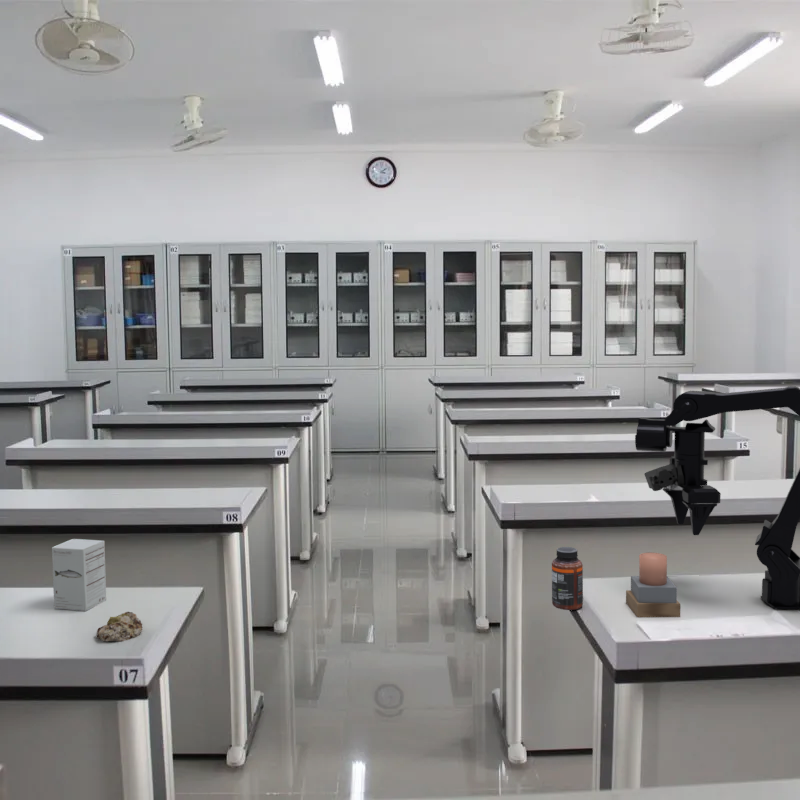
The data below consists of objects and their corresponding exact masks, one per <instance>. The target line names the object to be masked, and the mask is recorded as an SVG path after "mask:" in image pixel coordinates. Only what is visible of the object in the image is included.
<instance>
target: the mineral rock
mask: <svg viewBox="0 0 800 800" xmlns="http://www.w3.org/2000/svg"><path fill="white" fill-rule="evenodd" d="M142 630H143V623H142V621H141V619H139V618H138V617H137V614H136V613H134V612H132V611H125V612H124V613H121V614H118V615H116V616H109V619H108V621H107V623H106V624H105V625H102V626H100V627H98V629H97V630H96V638H97V639H98V640H99V639H100V640H101V641H102V642H118V643H120V642H121V643H122V642H125V641H128V640H130V639H134V638H137V637H140V634H142Z"/></svg>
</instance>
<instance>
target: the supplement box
mask: <svg viewBox="0 0 800 800" xmlns="http://www.w3.org/2000/svg"><path fill="white" fill-rule="evenodd" d="M105 542H106V541H105V540H100V539H99V540H98V539H84V538H83V539H82V538H72V539H68V540H67V541H64V542H61V543H59V544H57V545H55V546H52V547H51V558H52V583H53V585H52V586H53V608H54V610H57V609H60V610H73V611H80V612H81V611H82V612H87V611H88V610H91V609H92V608H94V607H97V606H98V605H100V604H102V603H103V602H105V601H107V581H106V580H107V578H106V576H107V575H106V552H105V550H106V549H105V546H106V545H105Z"/></svg>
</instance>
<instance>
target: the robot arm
mask: <svg viewBox="0 0 800 800" xmlns="http://www.w3.org/2000/svg"><path fill="white" fill-rule="evenodd" d="M672 408H673V410H672V411H671V412H670V413H669V414H668V415H666V416H665V419H662V418H661V419H659V418H658V419H657V418H648V417H640V418H638V419H637V420H638V421H637V426H636V427H637V428H636V434H635V435H634V441H635V442H634V443H635V449H636V451H641V452H643V451H644V452H660V453H661V452H662V453H666V452H667V449H668V448H672V445H673V444H674V446H673V447H674V448H673V449H674V450H673V451H674V454H673V456H671V457H670V458H669V464H666V465H663V466H660V467H656V468H654V469H652V470H648V471H646V472H645V473H644V477H645V479H646V483H647V485H648V488H649V489H650V490H651V489H652V491H654V492H659V491H664V493H665V494H667V495H668V496H669V497H670V500H671V503H672V507H673V511H674V515H675V519H676V524H678V525H684V522H685V520H686V517H687V514H688V513H689V517H690V526H691V533H692V535H693V536H699V535H700V534H701V532H702V530H703V528H704V526H705V525H706V523H707V521H708V519H709V517H710V515H711V514H712V513H713V510H714V509H715V507H717V506H718V504H721V495H722V494H721V492H720V491H719V490H718V489H717V488H715V487H713V486H712V485H708V479H706V478H705V466H708V463H709V462H708V461H709V460H708V459H706V458H705V434H706V433H710V434H711V433H714V432H715V430H716V428H715V426H714V425H712V424H711V423H710V421H709V420H708V419H705V418H709V417H711V416H716V415H720V414H722V413H723V414H724V413H731V412H732V413H733V412H742V411H743V412H745V411H759V410H768V409H771V410H772V409H780V408H789V409H790V410H791V411H792V412H794V413H795V414H796V415H797V416H799V417H800V387H798V386H797V385H789V386H786V387H777V388H768V389H758V390H757V389H756V390H744V391H736V392H733V391H732V392H714V391H703V390H688V391H685V392H682V393H681V394H679V395H678V396H677V397H676V398H675V399H674V401H673V407H672ZM701 419H704V420H703V421H702V422H694V421H697V420H701ZM683 421H685V422H686V424H685V426H676V425H678V424H680V423H681V422H683ZM673 432H674V443H673ZM667 447H668V448H667ZM688 511H689V512H688ZM799 522H800V467H799V469H798V470H797V472H796V475H795V478H794V479H793V481H792V483H791V486H790V488H789V491H788V492H787V495H786V497H785V499H784V502H783V504H782V506H781V507H780V510H779V512H778V514H777V516H776V517H775V518H774V519H773V521H772V522H770V521H769V520H767V519H764V521H763V526H762V529H761V532H760V533H759V534H758V535H757V536H756V539H755V542H754V545H755V546H757V547H756V548H757V549H756V556H757V558H758V560H759V562H760V563H761V564H762V565H764V566H765V567H766V569H767V570H764V577H763V578H762V580H761V582H762V583H761V595H760V600H762V601H763V603H764V602H765V604H767V605H768V606H770V607H771V608H772V609H775V610H800V555H798V554H797V553H796V552H795V551H794V550H793V549H792V548H793V545H794V544H793V543H794V539H795V535H796V530H797V526H798V524H799Z"/></svg>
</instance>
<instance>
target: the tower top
mask: <svg viewBox="0 0 800 800" xmlns="http://www.w3.org/2000/svg"><path fill="white" fill-rule="evenodd" d="M630 590H631V592H632V594H633V595H634V597H635V598H636V600H637V601H638V603H677V601H678V599H677V598H678V587H677V586H676V585H675V584H674V582H673V581H672V580H671V579H670V577H669V576H668V575H667V583H666V584H665V585H662V586H650V585H645V584H642V583H640V581H639V575H630Z"/></svg>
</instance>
